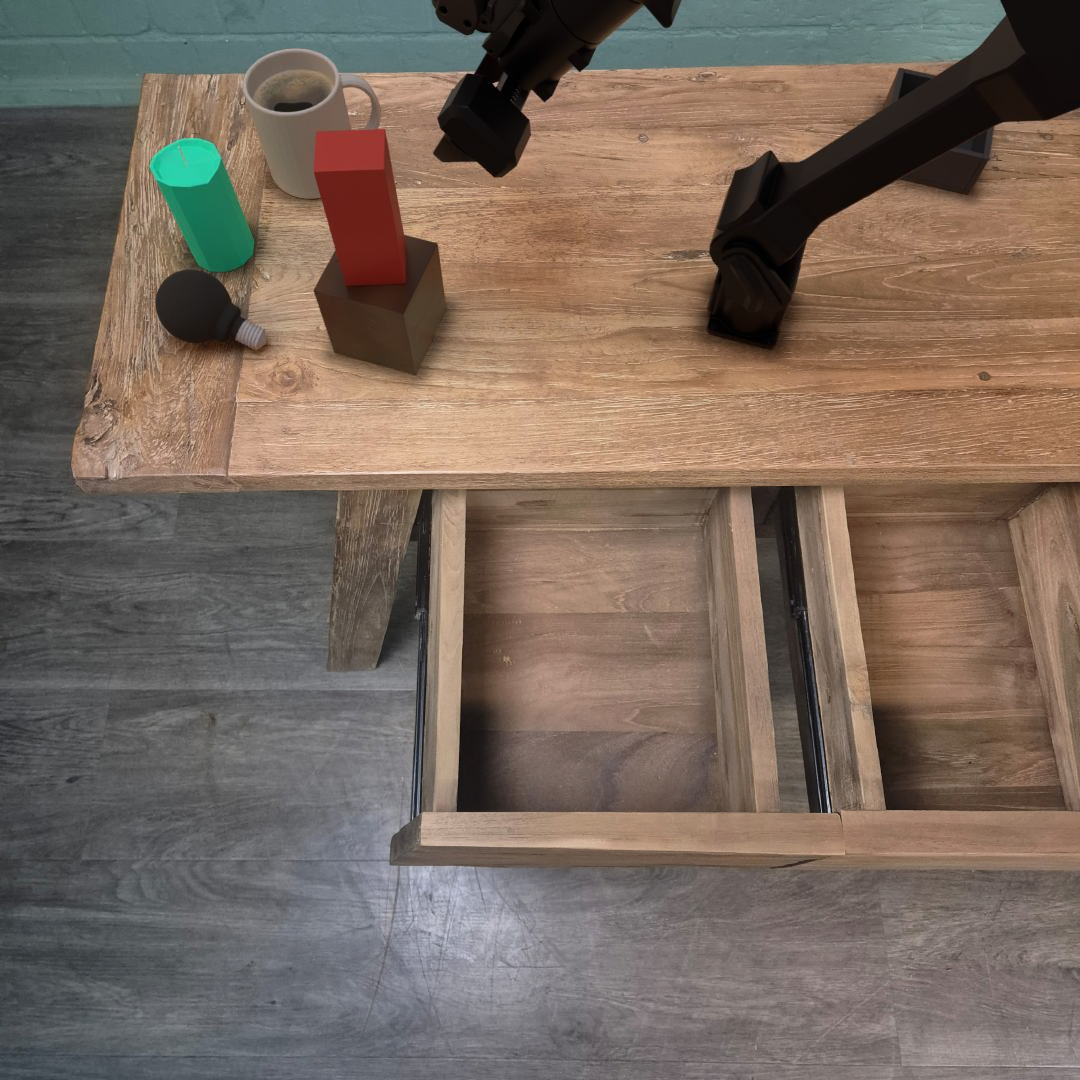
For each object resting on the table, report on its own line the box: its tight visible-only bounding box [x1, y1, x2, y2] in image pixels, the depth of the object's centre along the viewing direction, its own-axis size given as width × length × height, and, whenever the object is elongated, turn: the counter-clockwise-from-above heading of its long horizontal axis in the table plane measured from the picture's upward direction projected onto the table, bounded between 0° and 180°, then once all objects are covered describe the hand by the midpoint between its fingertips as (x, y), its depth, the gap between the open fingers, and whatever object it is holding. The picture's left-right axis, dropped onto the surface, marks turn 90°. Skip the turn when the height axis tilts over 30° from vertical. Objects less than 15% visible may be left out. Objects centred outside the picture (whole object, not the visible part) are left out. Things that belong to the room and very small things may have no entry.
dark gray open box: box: [881, 67, 995, 196], centre depth 90 cm, size 10×10×4 cm
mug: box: [242, 48, 382, 200], centre depth 86 cm, size 11×10×10 cm
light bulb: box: [154, 268, 267, 351], centre depth 79 cm, size 6×6×10 cm
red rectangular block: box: [313, 128, 406, 286], centre depth 69 cm, size 5×4×12 cm
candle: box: [148, 137, 256, 273], centre depth 80 cm, size 6×6×12 cm
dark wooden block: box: [313, 234, 447, 376], centre depth 78 cm, size 8×8×8 cm
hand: (457, 118), depth 73 cm, fingers open, 9 cm apart
